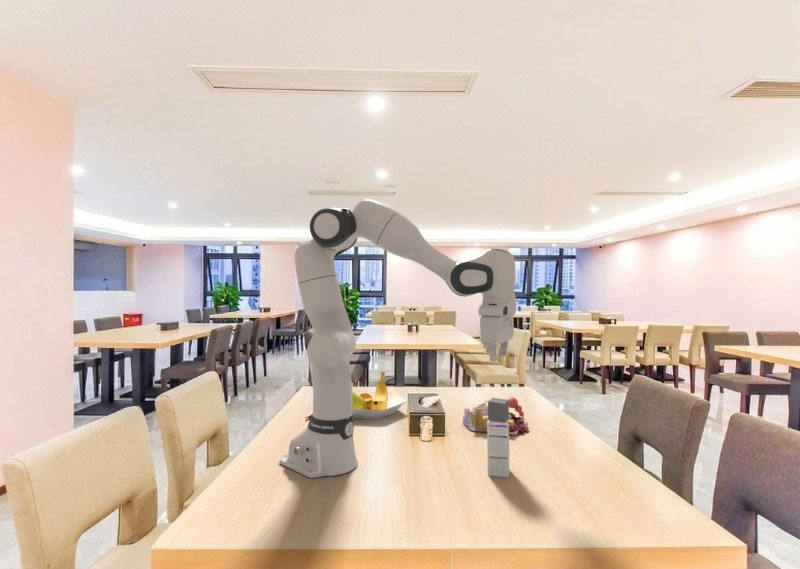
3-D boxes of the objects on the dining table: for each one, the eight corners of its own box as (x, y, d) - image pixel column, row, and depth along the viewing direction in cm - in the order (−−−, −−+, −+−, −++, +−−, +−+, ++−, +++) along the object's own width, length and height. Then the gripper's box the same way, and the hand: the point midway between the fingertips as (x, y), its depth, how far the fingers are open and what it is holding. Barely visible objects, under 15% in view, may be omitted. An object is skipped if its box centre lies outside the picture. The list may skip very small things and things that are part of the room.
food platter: (533, 439, 136) (533, 412, 136) (462, 434, 140) (462, 408, 140) (523, 416, 161) (523, 393, 161) (463, 413, 165) (463, 390, 165)
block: (487, 419, 110) (488, 401, 110) (492, 415, 114) (492, 397, 114) (504, 422, 108) (504, 403, 108) (508, 418, 112) (508, 399, 112)
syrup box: (509, 478, 108) (510, 423, 108) (487, 475, 109) (487, 421, 109) (508, 468, 113) (508, 416, 114) (486, 466, 115) (487, 415, 115)
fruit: (328, 406, 173) (329, 372, 173) (385, 399, 184) (385, 367, 184) (350, 428, 146) (351, 388, 146) (415, 418, 157) (415, 381, 157)
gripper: (497, 306, 122) (497, 352, 122) (476, 309, 105) (475, 363, 104) (519, 307, 119) (518, 354, 119) (500, 310, 101) (500, 365, 101)
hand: (498, 358), depth 112 cm, fingers open, 8 cm apart
